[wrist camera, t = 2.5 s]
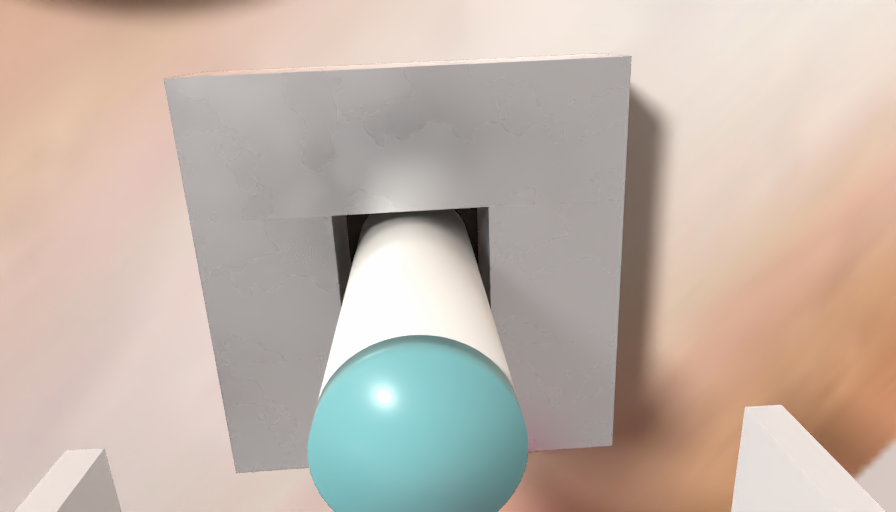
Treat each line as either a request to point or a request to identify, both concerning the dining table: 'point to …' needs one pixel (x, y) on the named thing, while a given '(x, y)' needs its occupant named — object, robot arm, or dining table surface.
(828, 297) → the dining table surface
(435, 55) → the dining table surface
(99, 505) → the robot arm
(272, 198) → the housing
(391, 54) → the dining table surface
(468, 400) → the plug
